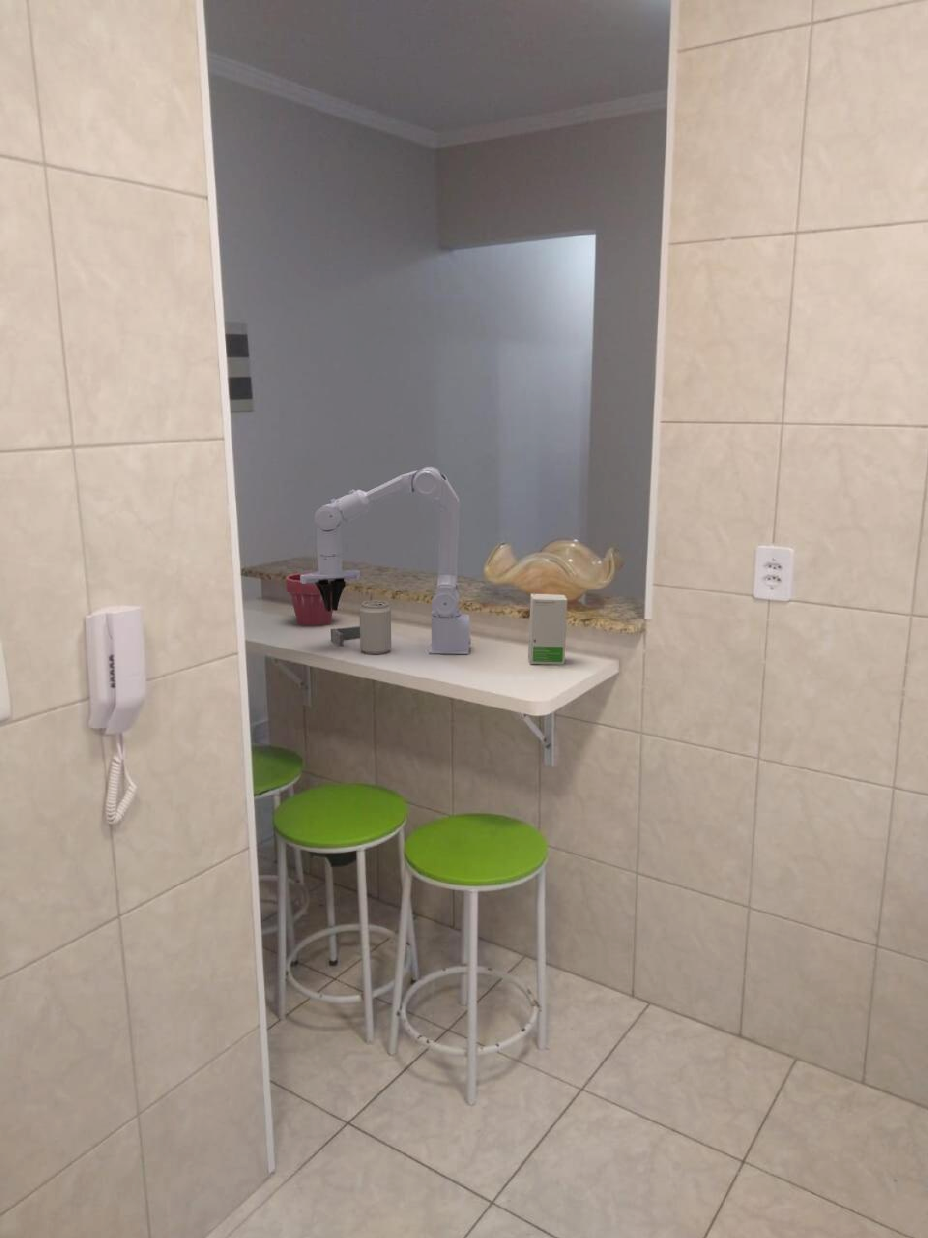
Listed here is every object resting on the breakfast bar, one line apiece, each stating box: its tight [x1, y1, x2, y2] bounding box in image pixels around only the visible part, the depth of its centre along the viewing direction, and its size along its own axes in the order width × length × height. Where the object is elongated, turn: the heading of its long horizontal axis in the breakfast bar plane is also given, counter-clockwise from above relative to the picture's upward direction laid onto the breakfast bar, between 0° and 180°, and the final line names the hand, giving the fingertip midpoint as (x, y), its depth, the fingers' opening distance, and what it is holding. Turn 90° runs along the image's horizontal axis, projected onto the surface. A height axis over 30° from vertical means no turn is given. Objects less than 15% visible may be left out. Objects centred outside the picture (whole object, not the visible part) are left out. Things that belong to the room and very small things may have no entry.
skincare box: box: [527, 593, 569, 666], centre depth 220 cm, size 8×7×16 cm
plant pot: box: [285, 571, 334, 627], centre depth 256 cm, size 14×14×13 cm
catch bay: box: [330, 625, 360, 647], centre depth 238 cm, size 6×13×3 cm, turn 117°
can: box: [358, 600, 392, 655], centre depth 228 cm, size 8×8×12 cm
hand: (331, 610), depth 230 cm, fingers closed
